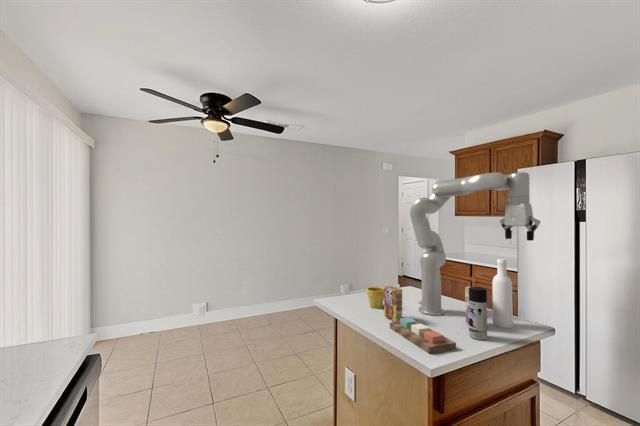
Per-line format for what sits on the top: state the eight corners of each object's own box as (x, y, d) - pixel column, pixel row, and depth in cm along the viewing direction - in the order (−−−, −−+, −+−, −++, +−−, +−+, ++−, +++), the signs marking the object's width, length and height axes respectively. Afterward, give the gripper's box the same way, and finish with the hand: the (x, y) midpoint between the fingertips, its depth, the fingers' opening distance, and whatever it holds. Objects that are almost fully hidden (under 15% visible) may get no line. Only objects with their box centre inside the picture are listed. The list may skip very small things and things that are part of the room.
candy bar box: (464, 320, 138) (464, 286, 139) (476, 321, 137) (476, 286, 137) (469, 329, 128) (469, 291, 128) (482, 330, 126) (482, 292, 126)
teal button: (399, 325, 127) (399, 318, 128) (409, 324, 129) (409, 317, 129) (406, 329, 123) (406, 322, 123) (416, 328, 124) (416, 321, 124)
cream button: (411, 332, 120) (411, 325, 120) (421, 330, 121) (421, 323, 122) (418, 336, 115) (418, 329, 115) (429, 335, 117) (429, 327, 117)
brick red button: (423, 339, 112) (423, 332, 112) (434, 338, 114) (434, 330, 114) (432, 345, 108) (432, 337, 108) (443, 343, 109) (443, 335, 109)
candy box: (402, 321, 138) (402, 288, 138) (395, 322, 136) (395, 289, 136) (390, 315, 146) (390, 285, 146) (383, 316, 144) (383, 285, 144)
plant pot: (388, 305, 162) (388, 288, 162) (381, 310, 153) (381, 292, 153) (371, 303, 167) (371, 286, 168) (363, 307, 159) (363, 289, 159)
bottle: (513, 329, 127) (512, 261, 128) (492, 326, 131) (491, 259, 132) (512, 324, 134) (511, 259, 134) (492, 320, 138) (491, 257, 139)
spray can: (465, 334, 122) (464, 286, 122) (480, 333, 122) (480, 286, 123) (475, 340, 115) (474, 290, 116) (491, 340, 116) (490, 290, 116)
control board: (389, 328, 129) (389, 322, 129) (412, 325, 132) (412, 319, 133) (429, 353, 104) (429, 347, 104) (456, 349, 108) (455, 342, 108)
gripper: (494, 201, 135) (494, 238, 134) (533, 199, 118) (533, 241, 118) (506, 201, 137) (506, 238, 137) (545, 200, 121) (545, 241, 121)
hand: (518, 239), depth 128 cm, fingers open, 9 cm apart
